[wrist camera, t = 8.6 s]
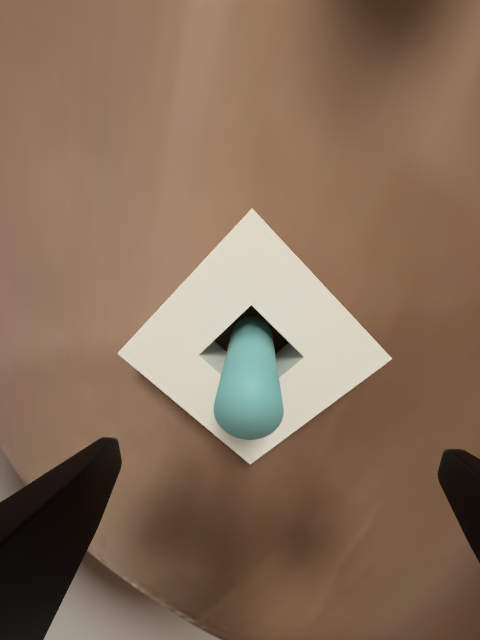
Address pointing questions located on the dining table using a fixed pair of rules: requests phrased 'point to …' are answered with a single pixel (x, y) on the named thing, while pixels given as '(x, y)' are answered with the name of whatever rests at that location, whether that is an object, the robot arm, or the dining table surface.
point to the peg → (249, 383)
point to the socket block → (278, 309)
